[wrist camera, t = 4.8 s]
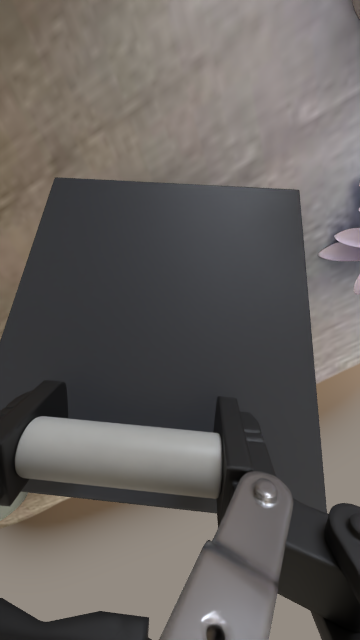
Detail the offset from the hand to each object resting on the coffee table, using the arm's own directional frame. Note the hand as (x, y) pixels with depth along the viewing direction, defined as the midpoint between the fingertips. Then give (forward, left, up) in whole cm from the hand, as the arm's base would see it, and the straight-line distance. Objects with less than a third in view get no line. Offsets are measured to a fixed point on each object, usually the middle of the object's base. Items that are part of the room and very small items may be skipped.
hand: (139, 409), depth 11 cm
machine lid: (0, +3, -5) cm, 6 cm away
